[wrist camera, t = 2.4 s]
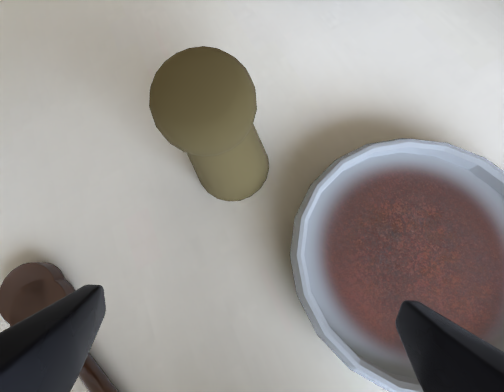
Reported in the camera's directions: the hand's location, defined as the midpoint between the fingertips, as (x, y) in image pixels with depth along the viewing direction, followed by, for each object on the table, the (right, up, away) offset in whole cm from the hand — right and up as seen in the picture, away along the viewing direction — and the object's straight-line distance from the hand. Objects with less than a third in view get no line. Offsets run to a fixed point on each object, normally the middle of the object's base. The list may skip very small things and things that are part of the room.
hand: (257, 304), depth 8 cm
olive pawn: (-2, +6, +14) cm, 16 cm away
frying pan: (+16, +1, +12) cm, 20 cm away
